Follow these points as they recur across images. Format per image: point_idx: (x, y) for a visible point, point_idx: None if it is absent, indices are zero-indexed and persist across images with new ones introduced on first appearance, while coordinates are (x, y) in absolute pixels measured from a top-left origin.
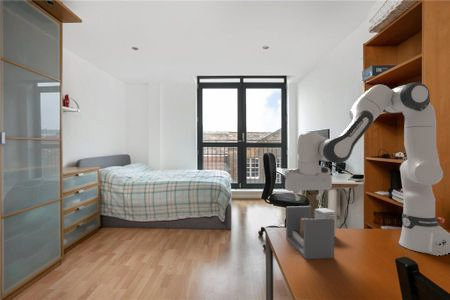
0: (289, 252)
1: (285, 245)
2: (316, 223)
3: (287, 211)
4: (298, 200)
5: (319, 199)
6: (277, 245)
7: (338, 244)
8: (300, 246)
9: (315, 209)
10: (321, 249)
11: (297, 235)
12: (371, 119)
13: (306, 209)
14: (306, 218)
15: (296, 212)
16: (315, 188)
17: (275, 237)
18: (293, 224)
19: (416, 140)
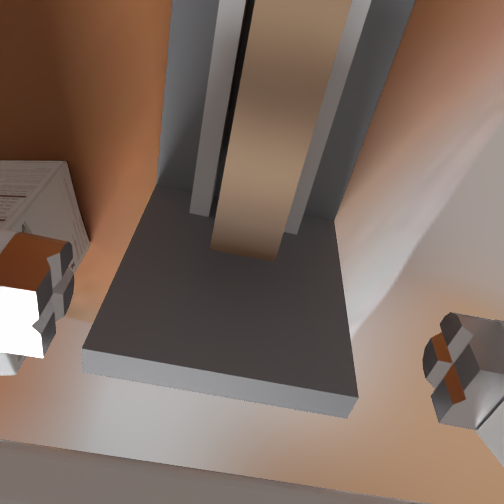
0: (481, 7)
1: (411, 132)
2: None
3: (352, 361)
4: (490, 320)
5: (31, 237)
6: (464, 149)
7: (11, 24)
8: (372, 28)
9: (12, 366)
10: None
11: (320, 152)
12: None
13: (150, 337)
14: (226, 217)
15: (261, 335)
16: (38, 500)
17: (378, 260)
18: (290, 266)
19: None
